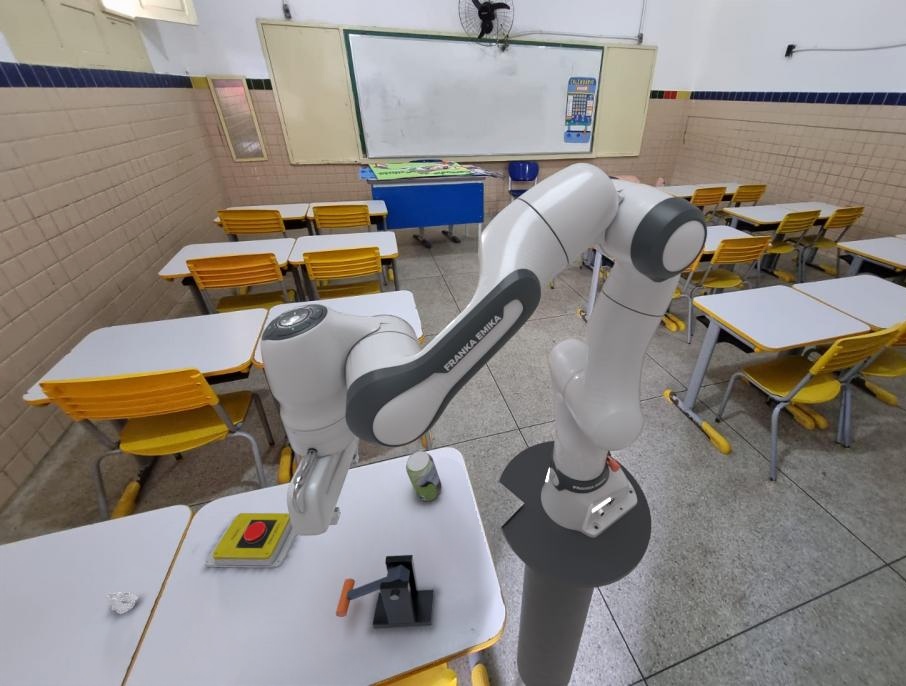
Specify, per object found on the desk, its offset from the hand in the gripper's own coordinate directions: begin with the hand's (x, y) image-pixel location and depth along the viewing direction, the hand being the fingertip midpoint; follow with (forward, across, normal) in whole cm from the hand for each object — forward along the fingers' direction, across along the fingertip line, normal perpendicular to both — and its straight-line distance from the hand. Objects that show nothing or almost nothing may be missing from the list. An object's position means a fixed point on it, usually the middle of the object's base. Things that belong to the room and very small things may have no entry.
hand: (343, 489), depth 57 cm
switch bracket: (+29, -4, -7) cm, 30 cm away
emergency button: (+29, +10, +26) cm, 40 cm away
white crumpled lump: (+29, -1, +43) cm, 52 cm away
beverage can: (+29, +20, -8) cm, 36 cm away
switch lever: (+22, -3, -3) cm, 22 cm away
